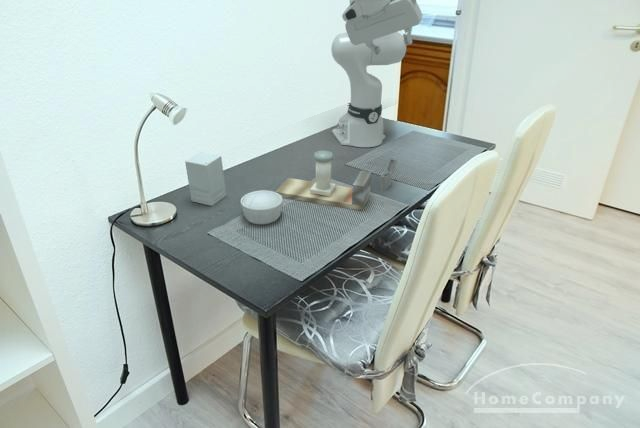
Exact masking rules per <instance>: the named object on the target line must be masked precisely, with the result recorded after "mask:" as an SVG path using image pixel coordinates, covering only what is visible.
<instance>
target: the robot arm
mask: <svg viewBox="0 0 640 428" xmlns="http://www.w3.org/2000/svg"><path fill="white" fill-rule="evenodd" d="M341 16H342V17H341V18H342V20H343V21H344V22H346V23H345V24H344V25H345V31H346V32H343V33H339V34H336V36H335V37H334V39H333V40H332V44H331V56H332V58H333V60H334V61H335V63H336V64H337V65H339V66H340V67H341V68H342V69H343V70H344V71H345V73H346V75H347V76H348V80H349V85H350V102H348V103H347V107H348V108H347V112H346V113H345V114H344V115H342V116H341V117H340V118H339V119H338V122H337V127H336V128H333V129H332V130H331V133H332V134H333V136H334V137H335V139H337V141H338V142H339V143H340V144H341V145H342V146H352V147H356V148H374V147H377V146H380V145H382V143H383V141H384V140H385V139H386V135H385V134H384V118H383V117H382V111H383V105H382V95H383V84H382V81H381V80H380V79H379V78H378V77H376V76H374V75H373V74H371V73H369V72H368V71H367V68H368V66H389V65H394V64H398V63H400V62H402V60H403V59H404V58H405V55H406V52H407V46H409V45H412V44H413V39H412V36H411V35H412V30H413V27H415V26H417V25H419V24H420V23H421V21H422V18H423V13H422V11H421V8H420V6H419V4H418V2H417V0H349V5H348V7H346V8H345V10H344V11H343V13H342V14H341ZM401 31H404V33H406V36H405V37H404V36H403V34H402V33H400V32H401Z"/></svg>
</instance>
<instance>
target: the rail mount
mask: <svg viewBox="0 0 640 428" xmlns="http://www.w3.org/2000/svg"><path fill="white" fill-rule="evenodd" d="M315 182H316V181H310V180H304V179H297V178H292V177H287V178H286V180H285V181H283V183H282V184H281V185H280V186H279V188H277V189H276V191H275V192H276V193H278V194H280V195H281V196H282V198H283V199H288V198H290V199H289V200H294V199H296V201H300V200H301V201H302V202H308V203H314V204H320V205H324V206H325V205H326V206H331V207H338V208H344V209H351V210H354V211H355V210H356V211H363V209H365V205H366V203H367V202H368V200H369V198H370V196H371V186H372V184H371V183H372V171H369V170H360V172H359V174H358V175H357V177H356V178H355V181H354V182H353V183H352V187H351V186H344V185H339V184H336V188H335V189H334V191H333V192H332V194H331V195H330V196H325V195H319V194H312V193H310V189H311V188H312V186H313V185H314V184H315ZM301 201H300V202H301Z"/></svg>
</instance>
